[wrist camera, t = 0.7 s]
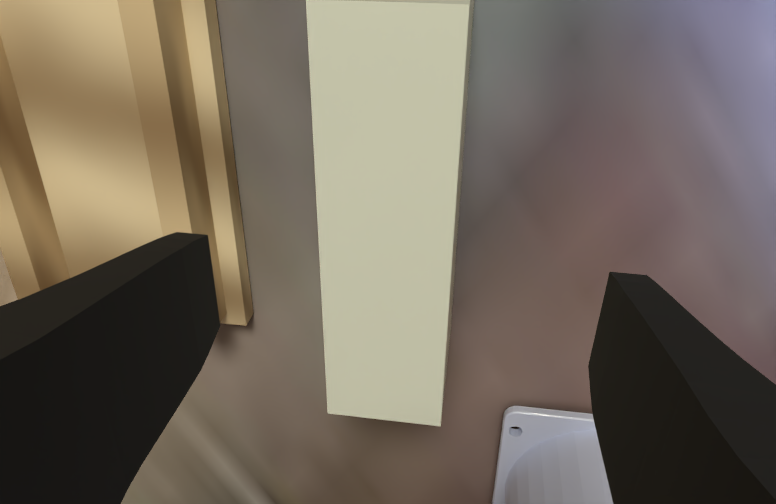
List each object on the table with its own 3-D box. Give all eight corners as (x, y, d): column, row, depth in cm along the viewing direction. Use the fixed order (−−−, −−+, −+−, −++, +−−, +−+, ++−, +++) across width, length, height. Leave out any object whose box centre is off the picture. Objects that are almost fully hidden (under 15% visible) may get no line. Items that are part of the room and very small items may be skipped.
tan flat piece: (253, 313, 24) (230, 352, 22) (51, 294, 25) (11, 329, 23) (197, -152, 17) (154, -159, 15) (-87, -151, 18) (-164, -157, 16)
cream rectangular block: (450, 328, 23) (440, 426, 19) (358, 319, 24) (327, 413, 19) (475, -23, 17) (469, 4, 13) (352, -26, 18) (306, -1, 14)
